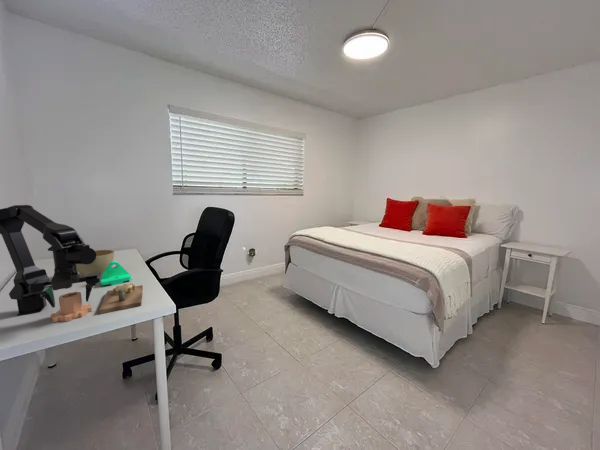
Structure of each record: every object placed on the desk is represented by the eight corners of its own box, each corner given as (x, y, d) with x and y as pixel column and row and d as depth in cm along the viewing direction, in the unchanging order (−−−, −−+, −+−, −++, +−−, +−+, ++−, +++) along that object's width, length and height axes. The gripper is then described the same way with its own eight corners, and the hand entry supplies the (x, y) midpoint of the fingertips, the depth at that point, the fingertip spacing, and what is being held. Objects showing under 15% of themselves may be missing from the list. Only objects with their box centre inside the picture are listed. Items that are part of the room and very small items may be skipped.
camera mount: (102, 287, 117) (99, 266, 116) (100, 283, 123) (97, 263, 121) (132, 281, 125) (130, 261, 124) (129, 277, 131) (127, 258, 130)
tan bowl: (98, 281, 125) (95, 257, 124) (63, 281, 126) (60, 257, 124) (124, 270, 143) (122, 249, 142) (93, 270, 144) (90, 249, 142)
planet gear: (46, 325, 84) (43, 304, 83) (56, 311, 93) (54, 292, 92) (88, 316, 90) (86, 297, 89) (94, 304, 99) (92, 286, 98)
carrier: (99, 313, 92) (97, 298, 91) (108, 294, 110) (106, 280, 109) (141, 305, 98) (139, 291, 97) (142, 288, 116) (141, 275, 115)
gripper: (17, 273, 77) (25, 320, 79) (94, 264, 87) (99, 306, 89) (32, 264, 87) (38, 306, 89) (100, 257, 96) (104, 295, 98)
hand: (71, 304), depth 91 cm, fingers open, 9 cm apart
